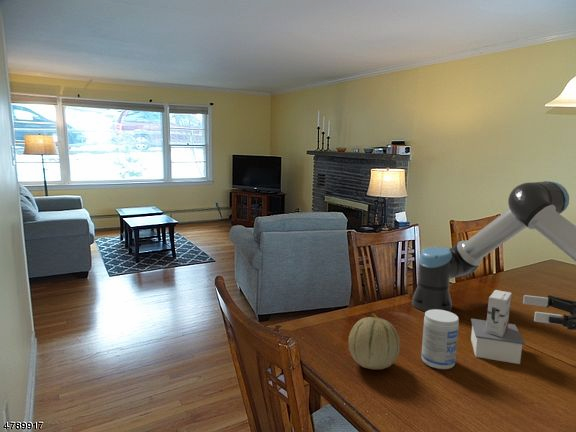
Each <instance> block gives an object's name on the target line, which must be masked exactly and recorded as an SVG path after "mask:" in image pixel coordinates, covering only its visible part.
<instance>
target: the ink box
mask: <svg viewBox="0 0 576 432" xmlns="http://www.w3.org/2000/svg"><path fill="white" fill-rule="evenodd" d="M511 299H512V292H510V291H503V290H499V289H494V291H493V292H492V293H491V295H490V296H489V297H488V305H487V314H486V315H487V316H486V321H487V322H486V331H485V332H486V333H489V334H493V335H497V336H500V337H503V335H504V333H505V331H506V329H507V328H508V324H509V317H510V310H511V309H510V307H511V302H512V301H511Z"/></svg>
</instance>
